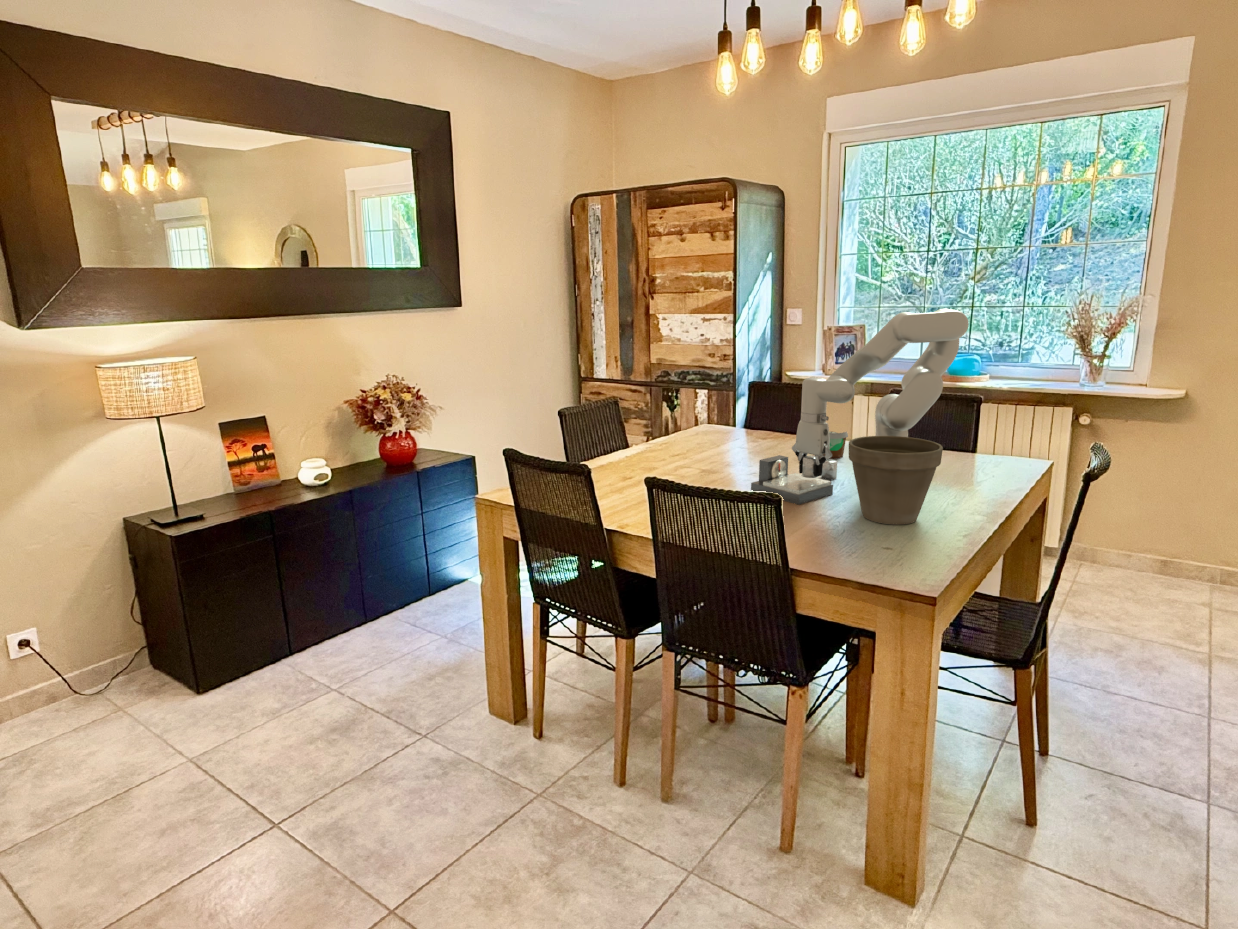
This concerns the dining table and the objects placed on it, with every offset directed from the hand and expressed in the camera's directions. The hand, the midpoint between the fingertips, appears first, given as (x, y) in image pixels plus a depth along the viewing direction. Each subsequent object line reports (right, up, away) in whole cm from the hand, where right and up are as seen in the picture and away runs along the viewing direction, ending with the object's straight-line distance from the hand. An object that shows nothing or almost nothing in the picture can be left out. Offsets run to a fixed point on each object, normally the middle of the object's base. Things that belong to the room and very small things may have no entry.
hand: (810, 473), depth 237 cm
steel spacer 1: (0, -1, 0) cm, 1 cm away
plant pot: (+17, -12, -23) cm, 31 cm away
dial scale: (-6, -6, +2) cm, 9 cm away
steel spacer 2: (+11, -2, +19) cm, 22 cm away
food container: (+19, +5, +48) cm, 52 cm away
